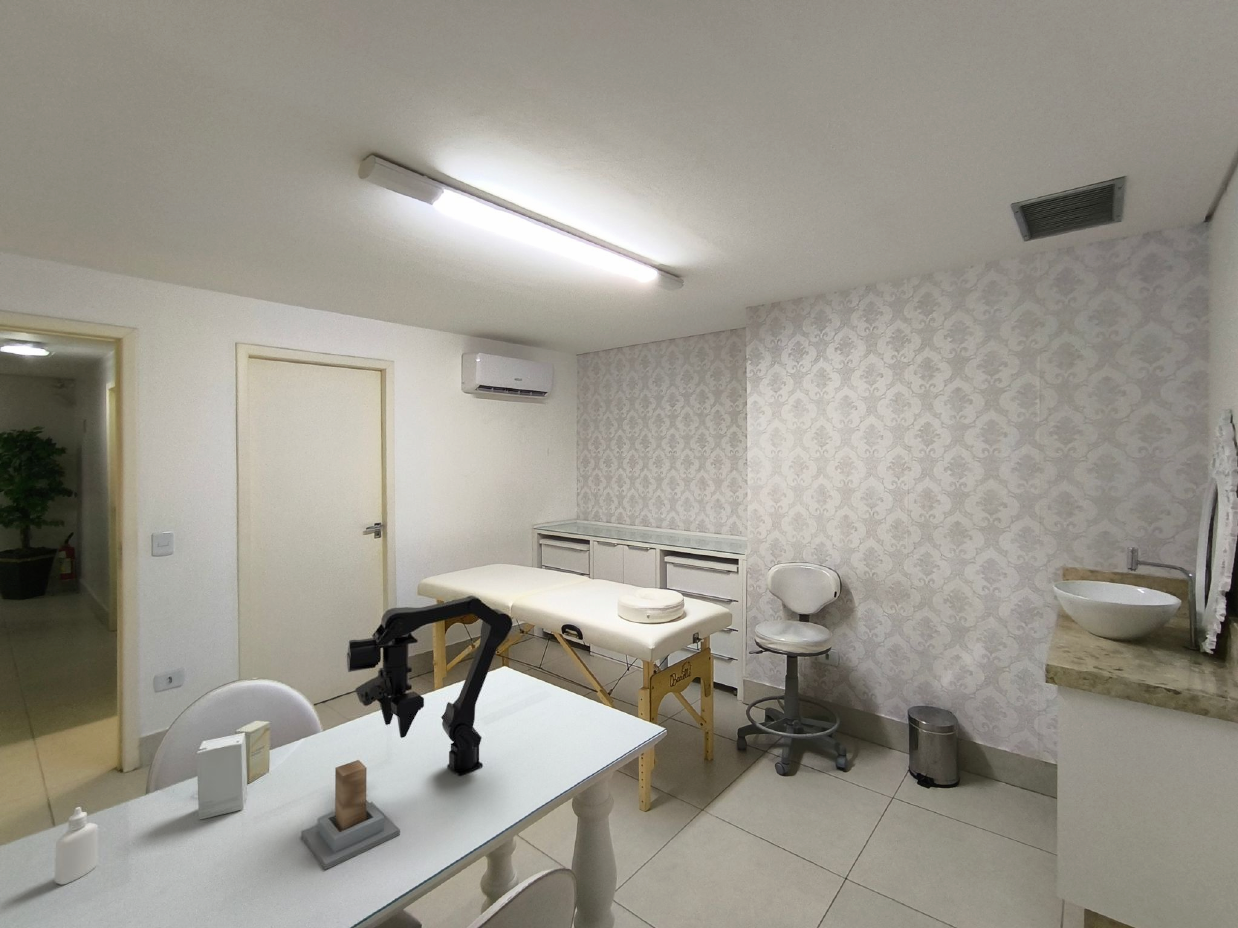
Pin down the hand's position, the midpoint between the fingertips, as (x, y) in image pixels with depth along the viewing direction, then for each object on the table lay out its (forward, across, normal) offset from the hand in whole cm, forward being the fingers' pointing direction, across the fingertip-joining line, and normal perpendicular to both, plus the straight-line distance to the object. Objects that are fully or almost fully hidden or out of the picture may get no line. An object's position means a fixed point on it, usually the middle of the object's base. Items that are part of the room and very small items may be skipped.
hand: (395, 730), depth 130 cm
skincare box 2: (+13, -29, -24) cm, 39 cm away
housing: (+13, +12, -13) cm, 22 cm away
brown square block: (+12, +12, -13) cm, 21 cm away
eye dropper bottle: (+13, -11, -54) cm, 56 cm away
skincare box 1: (+13, -17, -31) cm, 38 cm away
